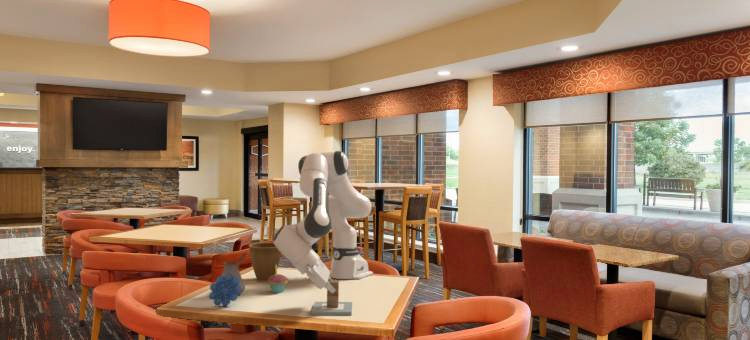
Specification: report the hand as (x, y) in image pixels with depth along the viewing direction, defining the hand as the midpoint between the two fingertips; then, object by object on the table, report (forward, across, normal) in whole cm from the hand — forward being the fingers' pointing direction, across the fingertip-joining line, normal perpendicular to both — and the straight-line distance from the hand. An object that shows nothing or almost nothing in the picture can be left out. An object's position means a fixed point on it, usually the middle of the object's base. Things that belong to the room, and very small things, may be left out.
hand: (334, 289), depth 198 cm
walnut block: (+4, 0, +5) cm, 6 cm away
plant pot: (-19, +52, +30) cm, 62 cm away
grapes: (-24, +5, +34) cm, 42 cm away
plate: (+5, 0, +6) cm, 7 cm away
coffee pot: (-24, +27, +35) cm, 50 cm away
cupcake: (-12, +28, +23) cm, 39 cm away
